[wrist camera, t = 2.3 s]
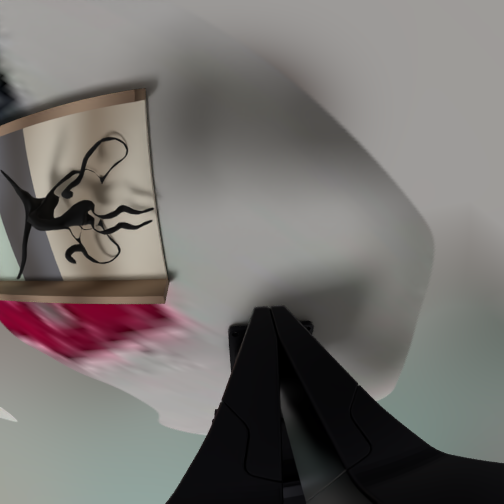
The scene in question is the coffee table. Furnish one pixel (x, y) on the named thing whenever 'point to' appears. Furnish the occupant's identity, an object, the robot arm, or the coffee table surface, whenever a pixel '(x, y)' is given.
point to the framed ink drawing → (90, 188)
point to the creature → (70, 211)
